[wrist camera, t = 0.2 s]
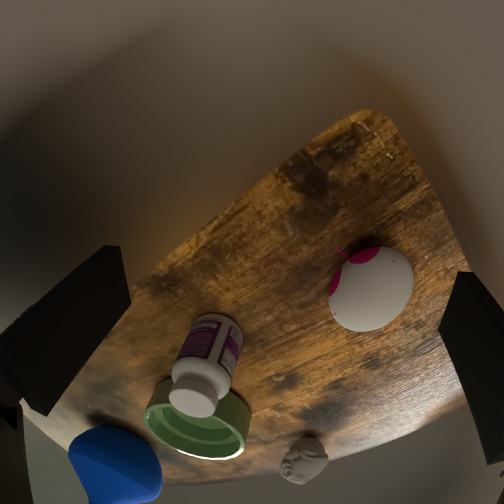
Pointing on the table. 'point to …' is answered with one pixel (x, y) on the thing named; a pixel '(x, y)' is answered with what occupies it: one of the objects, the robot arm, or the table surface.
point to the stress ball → (371, 289)
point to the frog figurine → (304, 460)
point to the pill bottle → (205, 365)
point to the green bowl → (199, 426)
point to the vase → (115, 466)
